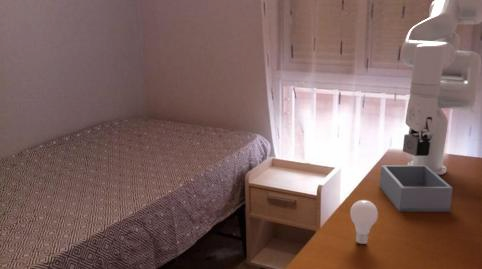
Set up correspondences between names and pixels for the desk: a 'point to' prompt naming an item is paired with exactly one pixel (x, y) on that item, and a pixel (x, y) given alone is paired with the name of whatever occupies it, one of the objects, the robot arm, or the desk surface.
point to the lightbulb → (363, 218)
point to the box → (415, 188)
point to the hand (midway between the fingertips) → (417, 151)
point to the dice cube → (411, 143)
